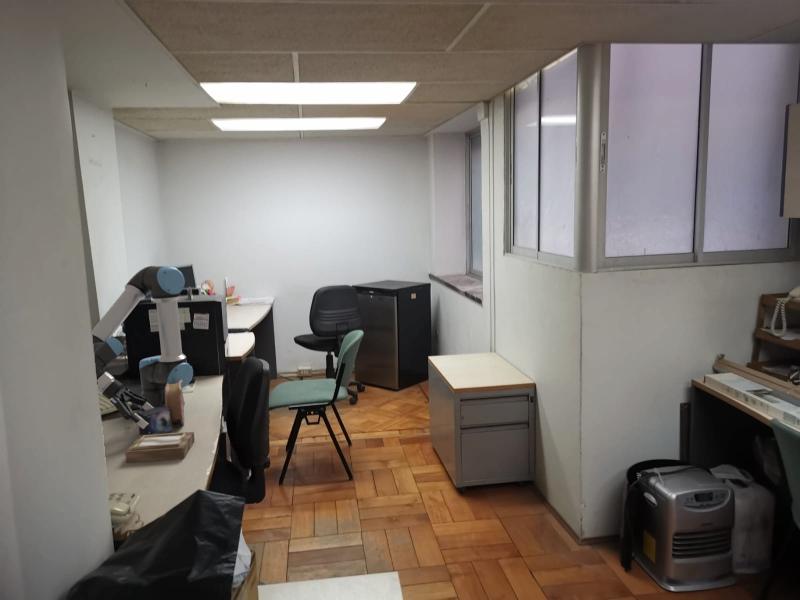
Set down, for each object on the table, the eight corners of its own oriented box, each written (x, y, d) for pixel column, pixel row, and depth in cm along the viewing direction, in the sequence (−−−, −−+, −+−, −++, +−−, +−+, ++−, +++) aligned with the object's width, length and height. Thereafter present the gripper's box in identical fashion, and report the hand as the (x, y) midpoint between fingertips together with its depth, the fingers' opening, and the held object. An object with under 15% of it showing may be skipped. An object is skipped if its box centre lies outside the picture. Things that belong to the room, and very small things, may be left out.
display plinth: (141, 445, 230) (139, 433, 229) (194, 441, 232) (193, 429, 231) (126, 462, 214) (124, 450, 213) (184, 458, 216) (182, 445, 215)
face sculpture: (186, 428, 246) (182, 389, 244) (167, 431, 244) (163, 391, 242) (186, 413, 265) (182, 377, 263) (169, 416, 263) (165, 379, 260)
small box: (148, 441, 234) (145, 415, 232) (139, 438, 238) (136, 412, 236) (172, 432, 242) (170, 407, 241) (163, 429, 246) (160, 405, 244)
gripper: (114, 384, 248) (155, 416, 251) (88, 403, 223) (134, 438, 227) (126, 370, 248) (167, 403, 251) (102, 388, 223) (147, 424, 227)
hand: (151, 420), depth 239 cm, fingers open, 13 cm apart
